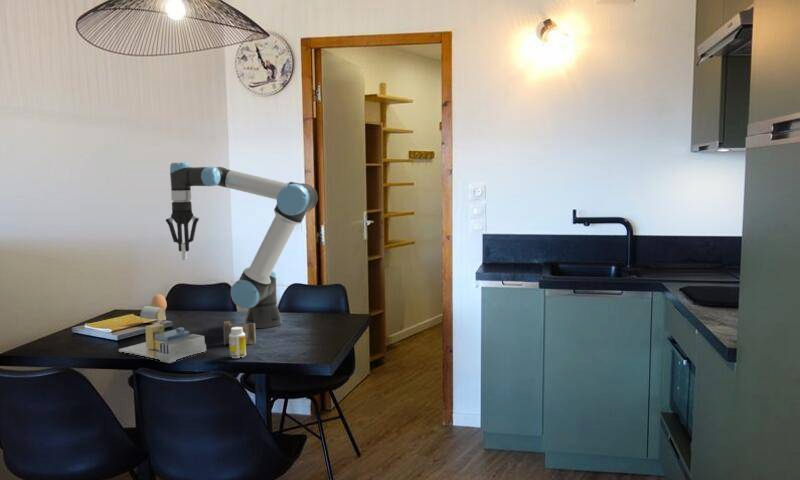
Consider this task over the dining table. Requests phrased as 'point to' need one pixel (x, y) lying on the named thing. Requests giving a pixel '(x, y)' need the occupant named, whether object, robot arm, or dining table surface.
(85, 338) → the dining table surface
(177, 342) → the grey building model
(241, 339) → the supplement bottle
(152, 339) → the beige wooden block
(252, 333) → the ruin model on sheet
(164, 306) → the egg
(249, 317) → the robot arm
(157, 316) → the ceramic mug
